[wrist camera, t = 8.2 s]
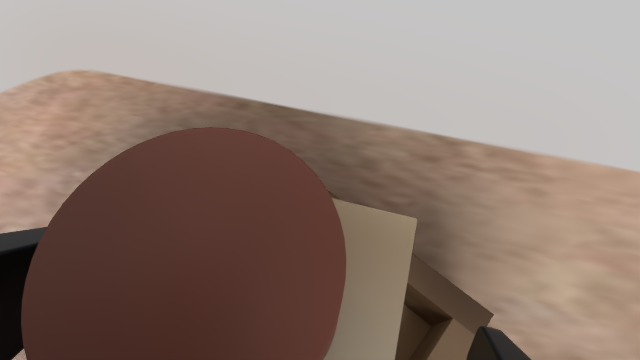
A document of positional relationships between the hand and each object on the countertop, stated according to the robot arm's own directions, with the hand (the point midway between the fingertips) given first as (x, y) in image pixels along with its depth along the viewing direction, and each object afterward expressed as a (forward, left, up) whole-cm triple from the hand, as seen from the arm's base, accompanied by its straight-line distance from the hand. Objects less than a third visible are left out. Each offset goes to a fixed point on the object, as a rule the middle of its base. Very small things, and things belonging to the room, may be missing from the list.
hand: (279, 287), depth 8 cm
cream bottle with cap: (-1, 0, -8) cm, 8 cm away
